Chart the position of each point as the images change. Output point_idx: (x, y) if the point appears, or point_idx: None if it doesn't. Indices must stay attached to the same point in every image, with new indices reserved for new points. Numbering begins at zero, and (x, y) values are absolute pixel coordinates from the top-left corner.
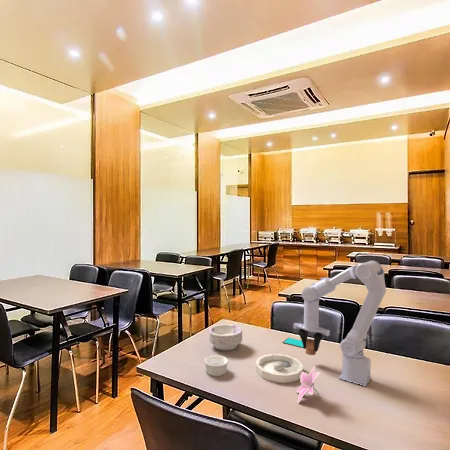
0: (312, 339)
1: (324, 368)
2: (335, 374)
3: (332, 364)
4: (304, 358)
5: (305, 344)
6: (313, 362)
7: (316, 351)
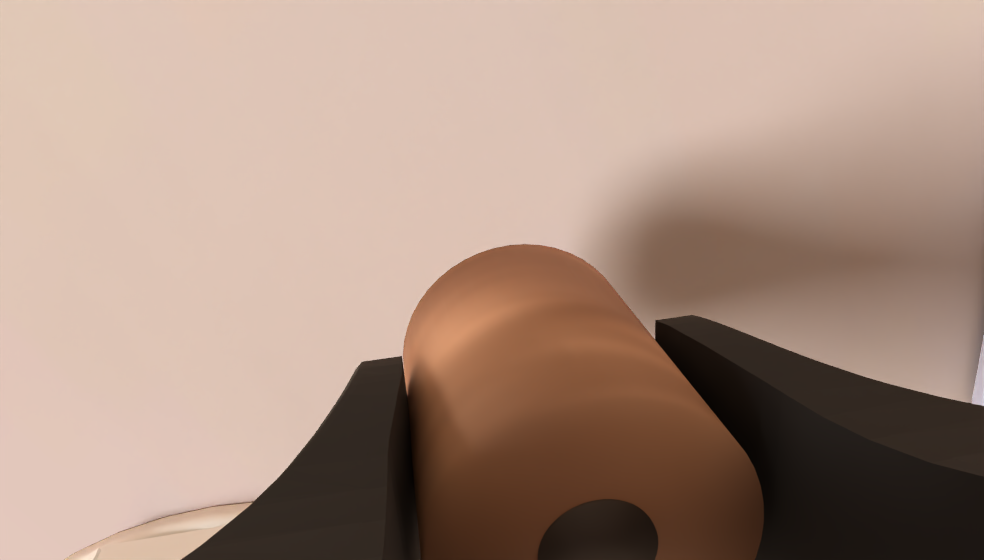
0: (594, 421)
1: (733, 269)
2: (911, 322)
3: (805, 27)
4: (296, 168)
5: (416, 515)
6: (508, 201)
7: None
